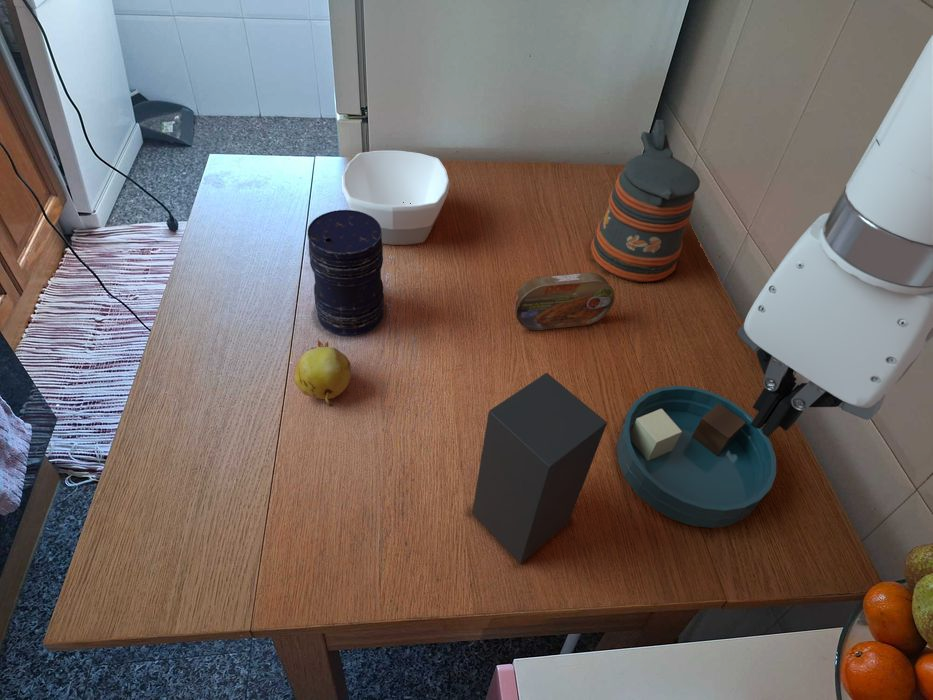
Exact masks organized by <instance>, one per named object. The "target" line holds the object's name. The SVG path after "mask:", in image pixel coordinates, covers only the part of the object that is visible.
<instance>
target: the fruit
mask: <svg viewBox="0 0 933 700" xmlns="http://www.w3.org/2000/svg"><path fill="white" fill-rule="evenodd" d="M351 369H352V367H351V362H350V360H349V359H348V357H347V356H346V355H345V354H344V353H343V352H342V351H340V350H339V349H337V348H336V347H334V346H333V347H332V346H329V340H326V342H325V343H324V344H323V342H321V341H320V340H319V339H317V346H316V347H315V346H314V347H310V349H308V350H307V351H305V352H304V353H303V354H302V355H300V358H299V359H298V361H297V363H296V365H295V369H294V374H293V380H294V384H295V386H296V387H297V388H298V390H299V391H300V392H301V393H302V394H304V396H308V397H311V398H315V399H320V400H324V401H325V403H326V404H327V406H328V407H329V408H331V407H334V404H333V403H331V401H330V400H331V399H334V398H336V397H338V396H339V395H341V394H342V393H343V392H344V391H345V390H346V389H347V387H348V385H349V383H350V380H351V373H352V372H351Z"/></svg>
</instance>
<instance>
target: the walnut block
mask: <svg viewBox="0 0 933 700" xmlns="http://www.w3.org/2000/svg"><path fill="white" fill-rule="evenodd" d="M745 423H746V422H745V421H744V420H742V419H741V418H740V417H738V416H737V415H735V414H734V413H733V412H731V411H730V410H728V409H727V408H726V407H724V406H723V405H722V404H720V403H719V404H717V405H716V406H715V407H714V408H713V409H712V410H711V411H709V412H708V413H707V414H706V415H705V416H704V417H702V419H701V421H700V422H699V424H698V426H697V428H696V430H695V432H694V433H693V435H692V437H693V438H694V439H695V440H697V441H698V442H699V443H701V444H702V445H703V446H704V447H706V448H707V449H708V450H710V451H711V452H712V453H713V454H715V455H716V456H719V455H720V454H721V453H722V452H723V451H724V450H725V449H726V448H727V447H728V446H729V445H731V444H732V443H733V442H734V441H735V439H736V438H737V436H738V434H739V433H740V431H741V430H742V428H743V427H744V425H745Z"/></svg>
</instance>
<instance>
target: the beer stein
mask: <svg viewBox="0 0 933 700" xmlns="http://www.w3.org/2000/svg"><path fill="white" fill-rule="evenodd" d="M640 140H641V142H642V145H643V149H644V152H643V153H642V154H639V155H636V156H634V157H631V158H630V159H629V160H628V161H627V163H626V164H625V165H624V167H623V170H622V171H620V173H618V175H617V177H616V181H615V184H614V186H613V188H612V190H611V192H610V196H609V198H608V207H607V209H606V211H605V215H604V216H602V218H601V220H600V221H599V223H598V225H597V229H596V232H595V234H594V236H593V238H592V240H591V245H590V250H591V254H592V257H593V259H594V261H596V263H597V264H598V265H599V266H600V267H601V268H602V269H604V270H605V271H607V272H608V273H610V274H612V275H613V276H615V277H618V278H620V279H622V280H626V281H631V282H635V283H650V282H657V281H660V280H661V281H662V280H663V279H666V278H667V277H668V276H670V275H671V274H673V273H674V272H675V271H676V267H677V264H678V260H679V258H680V255H681V251H682V249H683V236H684V232H685V228H686V225H687V224H688V223H689V221H690V219H691V214H692V210H693V205H694V201H695V199H696V198H695V197H696V192H697V191H698V190H699V188H700V185H701V181H700V180H701V179H700V177H699V175H698V174H697V172H695V170H693V169H692V168H691V167H690V166H689V165H687V164H686V163H684V162H682V161H681V160H679V159H677V158H675V157H674V155H673V154H674V153H673V151H672V149H671V147H670V143H669V139H668V134H667V133H666V126H665V120H664V119H656V120H655V122H654V126H653V128H652V131H651V132H646V131H643V132H642V133H641V136H640Z"/></svg>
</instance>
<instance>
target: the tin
mask: <svg viewBox="0 0 933 700" xmlns="http://www.w3.org/2000/svg"><path fill="white" fill-rule="evenodd" d="M614 303H615V291H614V289H613V287H612V286H611V285H610V284H609V282H608V281H607V280H606V278H605V277H604V276H602V275H601V274H599V273H596V272H579V273H578V272H577V273H567V274H557V275H543V276H538V277H535V278H532V279H530V280H527V281H526V282H525V283H524V284H522V285H521V286H520V287H519V288H518V290H517V291H516V292H515V296H514V299H513V310H514V314H515V317H516V320H517V321H518V324H520V325H521V326H522V327H523V328H524V329H528V330H531V331H544V330H545V331H546V330H554V329H555V330H556V329H565V328H575V327H584V326H589V325H591V324H594V323H597V322H598V321H600V320H601V319H602V318H604V317H605V316H606V315H607V314H608V313H609V312H610V311H611V309H612V307H613V306H614Z"/></svg>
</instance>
